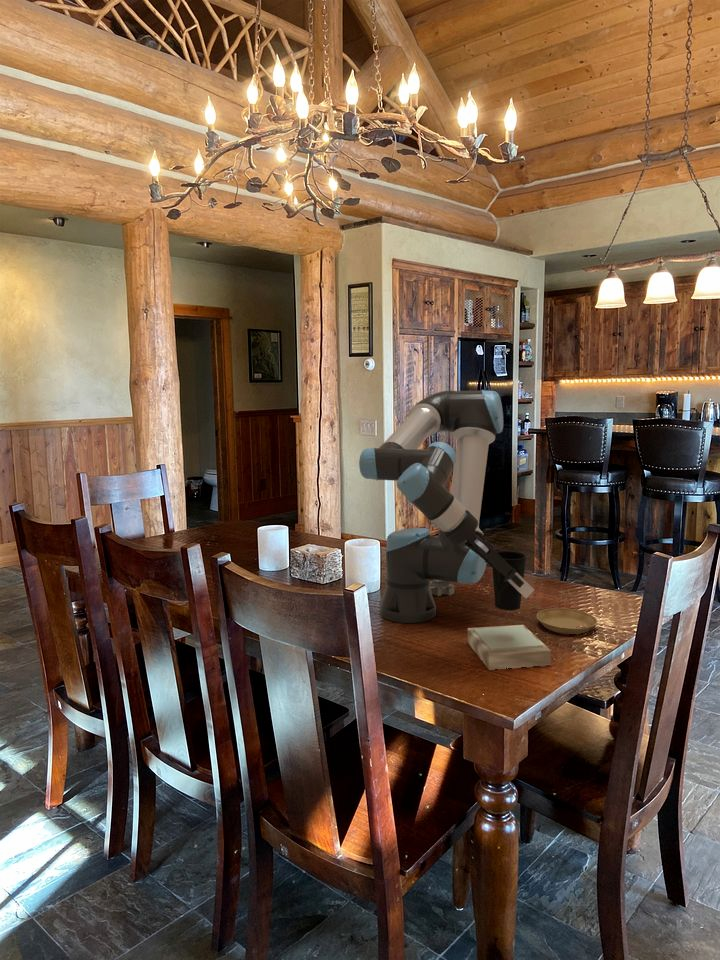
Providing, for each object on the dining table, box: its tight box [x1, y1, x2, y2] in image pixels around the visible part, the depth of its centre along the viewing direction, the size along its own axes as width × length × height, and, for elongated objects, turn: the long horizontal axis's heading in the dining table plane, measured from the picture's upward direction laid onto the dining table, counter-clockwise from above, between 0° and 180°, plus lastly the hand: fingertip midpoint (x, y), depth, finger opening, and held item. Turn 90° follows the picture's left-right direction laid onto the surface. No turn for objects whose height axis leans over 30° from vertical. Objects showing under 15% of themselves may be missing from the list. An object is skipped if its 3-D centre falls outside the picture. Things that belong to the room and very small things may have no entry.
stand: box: [466, 624, 552, 671], centre depth 150 cm, size 16×14×4 cm
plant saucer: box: [536, 607, 598, 635], centre depth 166 cm, size 15×15×3 cm
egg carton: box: [429, 580, 456, 597], centre depth 195 cm, size 11×8×4 cm
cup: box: [491, 550, 527, 611], centre depth 147 cm, size 8×8×12 cm
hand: (522, 588), depth 148 cm, fingers closed on cup, 8 cm apart
